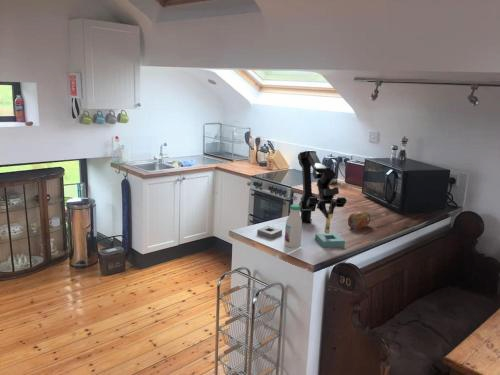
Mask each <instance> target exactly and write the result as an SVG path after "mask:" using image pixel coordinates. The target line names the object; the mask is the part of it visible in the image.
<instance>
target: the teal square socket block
mask: <svg viewBox="0 0 500 375" xmlns="http://www.w3.org/2000/svg"><path fill="white" fill-rule="evenodd" d="M314 239H315V241H316V242H317V243H318V244H319V246H321V247H322V248H342V247H343V248H344V247H346V240H345V239H344V238H343V237H342V236H340V234H338V232H329V234H326V232H322V233H321V232H320V233H315V234H314Z"/></svg>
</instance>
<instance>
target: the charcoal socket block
mask: <svg viewBox="0 0 500 375" xmlns="http://www.w3.org/2000/svg"><path fill="white" fill-rule="evenodd" d="M256 234H257V236H261V237H263V238H267V239H270V240H273V239H275V238H278V237H280V236H282V235H283V229H280V228H277V227H273V226H271V225H266V226H264V227H263V226H262V227H261V228H259V229H257V232H256Z"/></svg>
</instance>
